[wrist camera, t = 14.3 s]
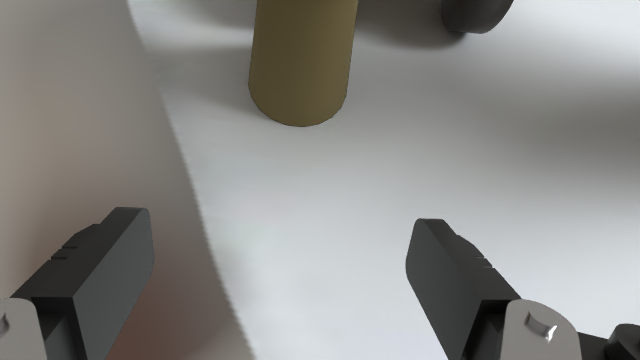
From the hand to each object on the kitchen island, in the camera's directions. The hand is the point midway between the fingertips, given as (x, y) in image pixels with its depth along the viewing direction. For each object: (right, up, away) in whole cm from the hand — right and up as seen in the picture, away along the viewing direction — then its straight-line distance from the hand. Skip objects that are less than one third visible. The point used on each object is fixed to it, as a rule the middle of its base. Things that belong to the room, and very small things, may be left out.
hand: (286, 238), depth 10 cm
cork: (0, +8, +11) cm, 13 cm away
